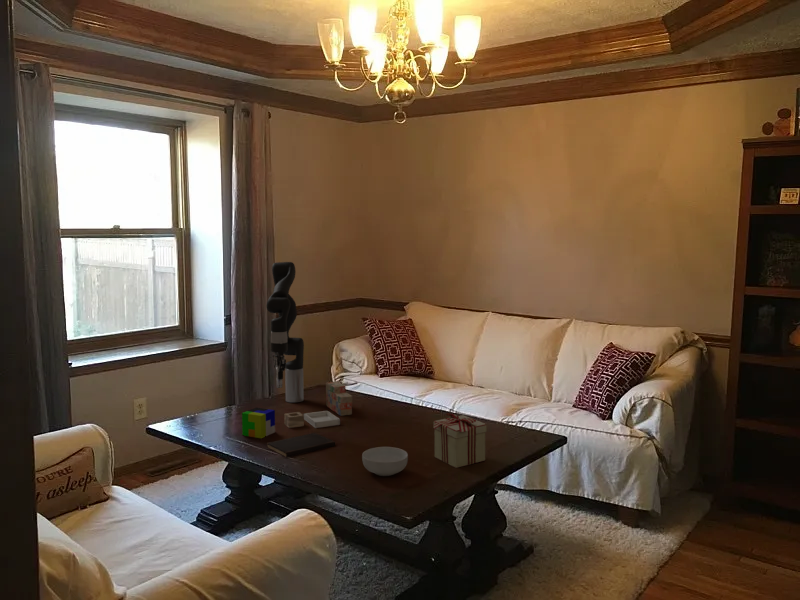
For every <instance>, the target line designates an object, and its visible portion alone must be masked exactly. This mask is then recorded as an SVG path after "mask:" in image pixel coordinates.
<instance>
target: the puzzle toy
mask: <svg viewBox="0 0 800 600" xmlns="http://www.w3.org/2000/svg"><path fill="white" fill-rule="evenodd" d="M275 413H276V409H275V410H274V409H268V408H263V407H262V408H261V407H254V408H252V409H249V410H246V411H244V412H241V424H242V425H241V427H242V429H241V431H242V433H241V434H242V436H243V435H244V436H245V437H250V438H255V439H263V438H265V436H266V437H268V436H270V435H272V434H274V433H276V414H275Z"/></svg>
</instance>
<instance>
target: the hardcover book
mask: <svg viewBox="0 0 800 600" xmlns="http://www.w3.org/2000/svg"><path fill="white" fill-rule="evenodd" d="M266 445H267V448H268V449H270V450H272V451H274V452H276V453H277V454H280V455H281V456H284V457H285V458H290V457H294V456H298V455H302V454H306V453H307V454H308V453H310V452H314V451H315V452H316V451H319V450H323V449H328V448H331V447H335V446H336V442H335V440H332V439H330V438H327V437H326V436H324V435H321V434H318V433H316V432H312V433H307V434H303V435H298V436H294V437H293V436H292V437H289V438H285V439H280V440H275V441H270V442H267V443H266Z"/></svg>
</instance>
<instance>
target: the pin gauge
mask: <svg viewBox="0 0 800 600" xmlns="http://www.w3.org/2000/svg"><path fill="white" fill-rule="evenodd" d="M281 368H282V367H281ZM276 376H277V378H276V388H277V389H281V388H283V379H280V380H279V379H278V367H277V366H276V370H275V377H276Z"/></svg>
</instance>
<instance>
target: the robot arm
mask: <svg viewBox="0 0 800 600" xmlns="http://www.w3.org/2000/svg"><path fill="white" fill-rule="evenodd" d="M271 273H272V278H273V279H272V280H273V285H274V288H273V292H272V294H271V295H270V296H269V298H268V299H267V301H266V306H265V307H266V310H267V312H269V313H271V314H278V317H275V318H272V319H271V320H270V352H271V353H274V354H273V355H272V360H273V367H274V368H275V371H276V366H277V367H278V379H279V380H280V379H282V380H284V381H285V402H287V403H300V402H303V401H304V354H305V353H304V350H305V344H304V343H305V342H304V339H303V338H302V337H290V335H289V333H290V330H291V327H292V325H293V324H294V322H295V321H296V319H297V317H298V312H297V304H296V301H295V300H294V298H293V297H292V296H291V295H290V293H289V292H290V288H291V287H292V284H293V283H294V281H295V278H296V265H295V263H294V262H293V261H282V262H280V261H279V262H273V264H272V266H271ZM285 356H295V358H294V359H293V360H290V361H287V359H286V358H285ZM281 367H282V368H281ZM284 372H285V379H284ZM275 378H276V379H277V376H276V375H275Z"/></svg>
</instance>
